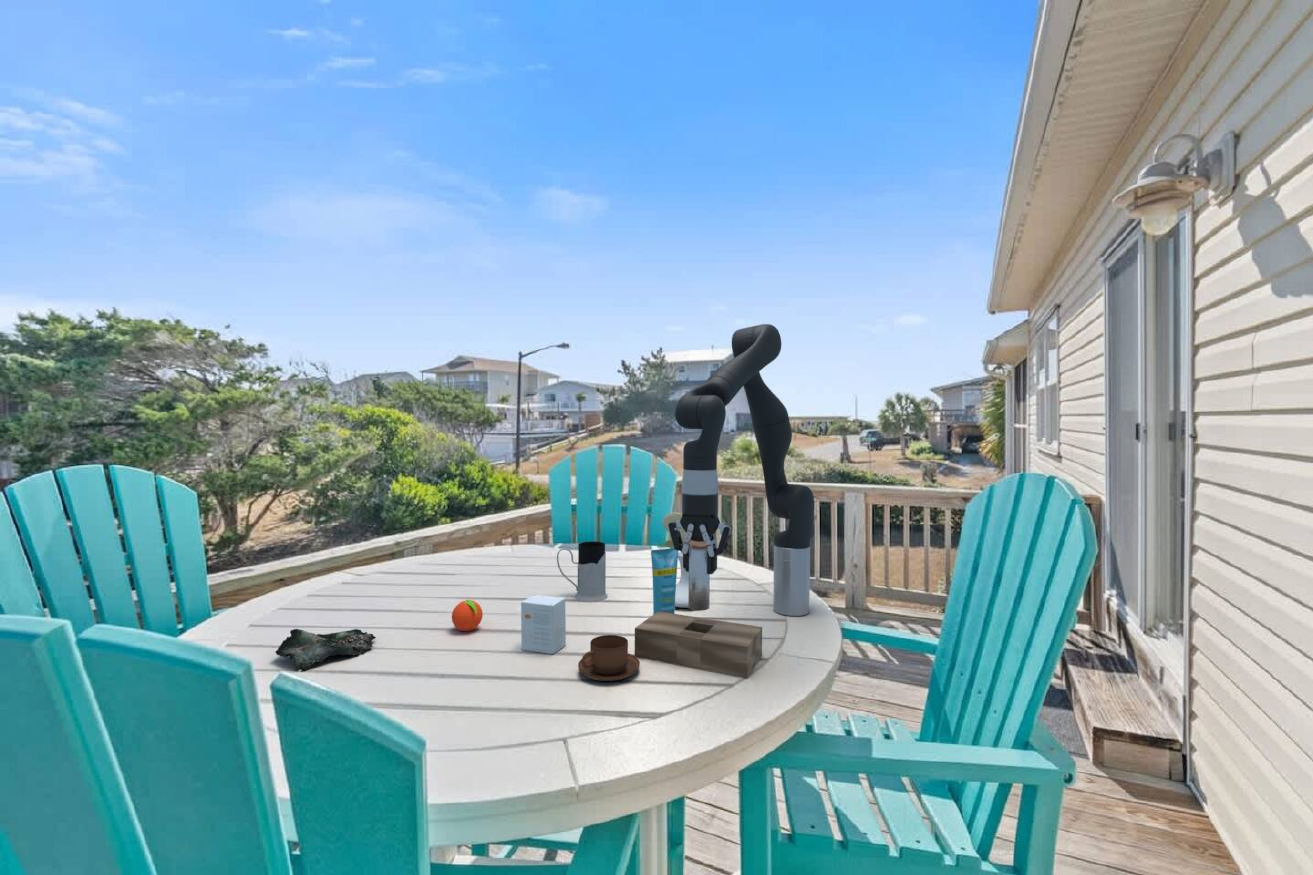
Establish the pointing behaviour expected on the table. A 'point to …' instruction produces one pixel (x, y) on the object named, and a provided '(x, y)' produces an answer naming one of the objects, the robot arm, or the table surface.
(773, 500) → the robot arm
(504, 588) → the table surface
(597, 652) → the cup and saucer
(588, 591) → the glass holder
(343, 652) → the decorative rock
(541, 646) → the small box
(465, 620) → the clementine
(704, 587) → the plug
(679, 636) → the block
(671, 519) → the flower in vase
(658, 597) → the tube
